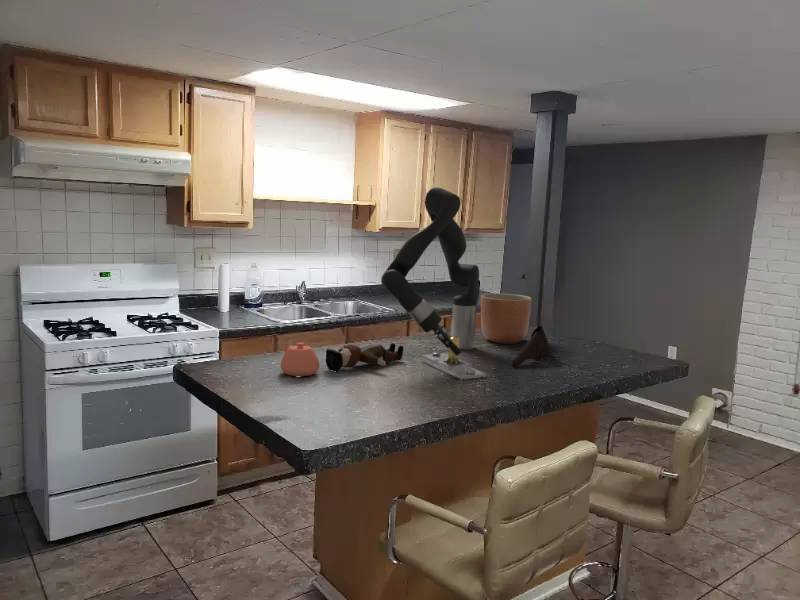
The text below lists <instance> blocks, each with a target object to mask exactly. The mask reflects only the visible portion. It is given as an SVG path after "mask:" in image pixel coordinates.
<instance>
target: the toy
mask: <svg viewBox="0 0 800 600" xmlns="http://www.w3.org/2000/svg"><path fill="white" fill-rule="evenodd" d="M325 353H326V354H325V363H326V367H327V369H328V370H329V371H330V370H333V371H336V372H337V373H338V372H340V371H341V370H342V368H344V369H345V368H346V369H347V368H353V367H355V366H356V365H357V364H358V363H364V364H368V365H374V366H383V367H384V366H386V365H387V362H390V361H393V362H396V361H401V360H403V359H402V358H403V355H404V354H403V353H404V346H403V345H401V344H400V345H399V346H398V348H397V351H396V343H394V342H392V343H390V345H389V347H388V348H387V349H386V348H385V347H384V346H383V345H381V344H370V345H367V346H364V347H360V346H357V345H355V344H348V345H346V344H344V345H343V347H341V348H339V349H338V350H335V349H330V348H326V351H325ZM333 371H332V372H333Z"/></svg>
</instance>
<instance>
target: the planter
mask: <svg viewBox="0 0 800 600" xmlns="http://www.w3.org/2000/svg"><path fill="white" fill-rule="evenodd" d="M480 298H481V299H480V321H481V323H480V324H481V331H482V333H483V336H484V337H485V338H486V339H487V340H489V341H490V342H492V343H497V344H507V345H509V344H510V345H511V344H517V343H519V342H521V341H522V340H523V339H524V338H525V337H526V335H527V334H528V329H529V323H530V316H531V309H532V307H531V306H532V297H531V296H527V295H523V294H516V293H515V294H513V293H495V292H494V293H484V294H482V295H481V297H480Z"/></svg>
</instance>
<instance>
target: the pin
mask: <svg viewBox="0 0 800 600" xmlns="http://www.w3.org/2000/svg"><path fill="white" fill-rule="evenodd" d="M450 339H451V340H452V341H453V342H454V344H455V345H456V346H457V347H458V348H459V344H460V338H459V337H451V338H450ZM448 343H449V341H448ZM446 349H447V351H446V354H447V364H450V365H452V364H458V363H459V359H460V354H459V355H458V356H456V355H455V354H454V353H453V351H452V350H451V349H450V348H447V347H446Z"/></svg>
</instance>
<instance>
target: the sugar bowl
mask: <svg viewBox="0 0 800 600" xmlns="http://www.w3.org/2000/svg"><path fill="white" fill-rule="evenodd" d="M280 369H281V371H282V372H283V373H284V374H285V373H286V375H288V376H295V377H296V376H302V377H303V376H305V377H306V376H313V375H314V374H316V372H317V371H318V370H319V369H320V361H319V357H318V355H317V354H316V352H315V350H314V349H313V347H311V346H309V345H305V342H297V343H296V345H287V346H286V347H285V348H284V354H283V356H282V358H281V361H280ZM312 374H313V375H312Z"/></svg>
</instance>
